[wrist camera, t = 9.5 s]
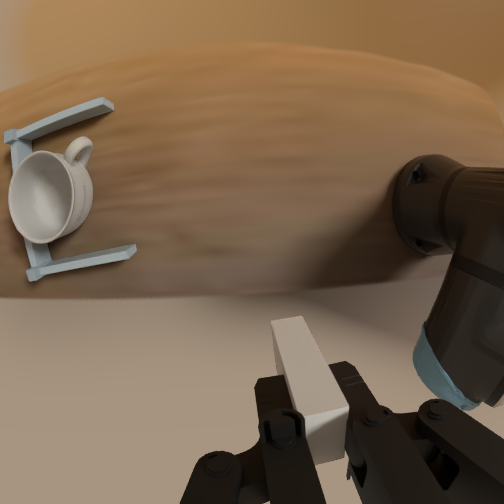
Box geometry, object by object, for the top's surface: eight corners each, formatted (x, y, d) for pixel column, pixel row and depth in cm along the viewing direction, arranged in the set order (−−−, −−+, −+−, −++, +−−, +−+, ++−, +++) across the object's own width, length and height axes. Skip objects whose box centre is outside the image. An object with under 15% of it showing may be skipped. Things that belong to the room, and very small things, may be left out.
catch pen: (113, 101, 33) (98, 92, 28) (137, 253, 38) (125, 263, 33) (24, 135, 32) (3, 132, 27) (47, 270, 37) (29, 281, 32)
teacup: (63, 247, 37) (34, 261, 29) (27, 187, 34) (-6, 191, 27) (133, 185, 36) (112, 187, 28) (92, 122, 34) (65, 111, 26)
